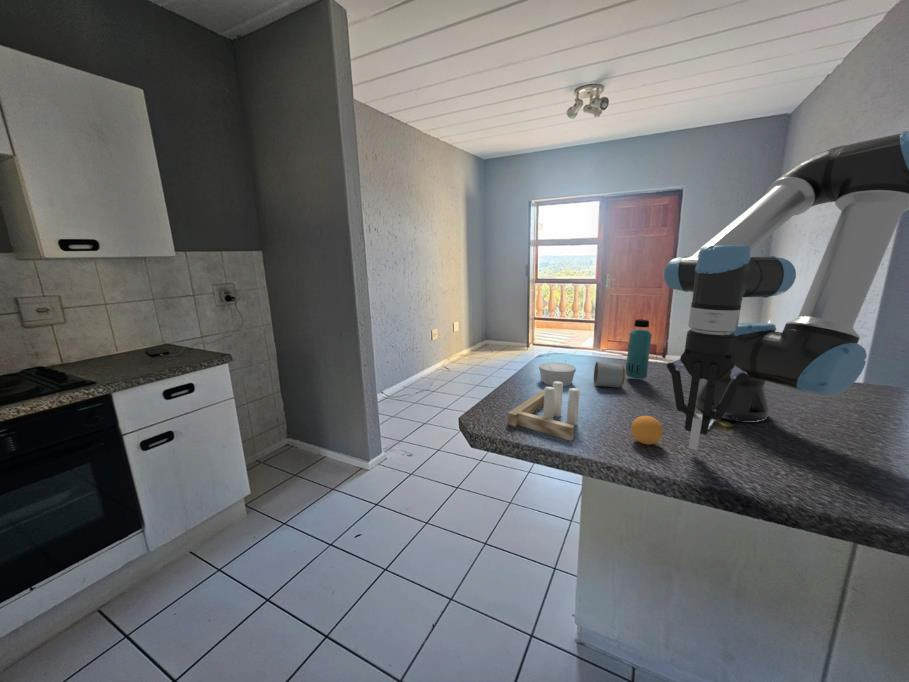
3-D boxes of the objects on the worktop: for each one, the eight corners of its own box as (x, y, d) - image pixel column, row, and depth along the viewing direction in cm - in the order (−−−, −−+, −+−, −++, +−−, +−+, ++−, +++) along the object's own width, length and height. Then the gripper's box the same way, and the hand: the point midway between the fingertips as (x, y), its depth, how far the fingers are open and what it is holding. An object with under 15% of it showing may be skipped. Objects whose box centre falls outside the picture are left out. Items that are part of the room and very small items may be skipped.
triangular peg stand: (597, 412, 94) (598, 401, 94) (568, 443, 79) (569, 430, 78) (542, 399, 103) (543, 389, 102) (507, 424, 88) (507, 412, 87)
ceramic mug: (624, 391, 110) (627, 366, 108) (595, 389, 111) (597, 364, 110) (617, 380, 120) (619, 357, 118) (591, 378, 122) (592, 356, 120)
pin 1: (554, 421, 90) (556, 388, 88) (550, 424, 88) (552, 390, 86) (545, 418, 91) (547, 386, 89) (541, 421, 89) (543, 388, 87)
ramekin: (531, 379, 121) (532, 364, 120) (558, 375, 125) (559, 360, 124) (553, 390, 111) (554, 373, 110) (582, 385, 115) (583, 369, 114)
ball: (663, 441, 79) (666, 415, 78) (658, 452, 75) (661, 425, 73) (633, 433, 83) (635, 409, 82) (626, 444, 78) (629, 418, 77)
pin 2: (562, 414, 93) (564, 382, 92) (558, 417, 92) (560, 385, 90) (553, 411, 95) (555, 380, 93) (549, 415, 93) (551, 383, 91)
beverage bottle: (645, 378, 121) (652, 318, 117) (648, 384, 115) (655, 321, 111) (623, 376, 124) (629, 317, 119) (625, 382, 117) (632, 320, 113)
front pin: (578, 422, 89) (581, 389, 87) (575, 426, 87) (577, 392, 85) (568, 420, 90) (571, 387, 88) (565, 423, 88) (567, 390, 86)
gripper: (668, 329, 69) (653, 444, 74) (757, 338, 61) (734, 465, 66) (673, 324, 75) (659, 430, 80) (755, 331, 67) (733, 448, 72)
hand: (693, 446), depth 73 cm, fingers closed
